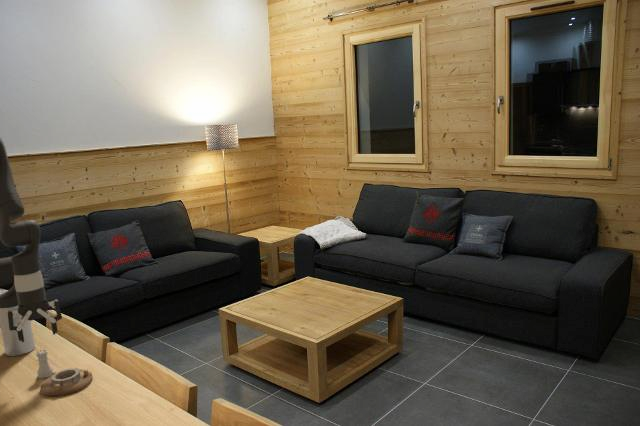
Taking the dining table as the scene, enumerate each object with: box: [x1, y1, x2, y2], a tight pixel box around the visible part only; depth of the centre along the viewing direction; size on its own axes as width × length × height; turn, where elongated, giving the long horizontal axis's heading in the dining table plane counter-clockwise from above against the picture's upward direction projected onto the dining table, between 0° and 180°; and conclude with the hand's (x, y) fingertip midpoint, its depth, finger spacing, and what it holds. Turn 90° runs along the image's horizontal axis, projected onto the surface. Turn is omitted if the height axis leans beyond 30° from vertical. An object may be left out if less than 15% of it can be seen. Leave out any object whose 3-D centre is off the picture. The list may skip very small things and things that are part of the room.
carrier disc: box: [39, 367, 93, 398], centre depth 160 cm, size 14×14×3 cm
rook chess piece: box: [35, 349, 54, 379], centre depth 167 cm, size 4×4×8 cm
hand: (38, 337), depth 165 cm, fingers open, 8 cm apart
